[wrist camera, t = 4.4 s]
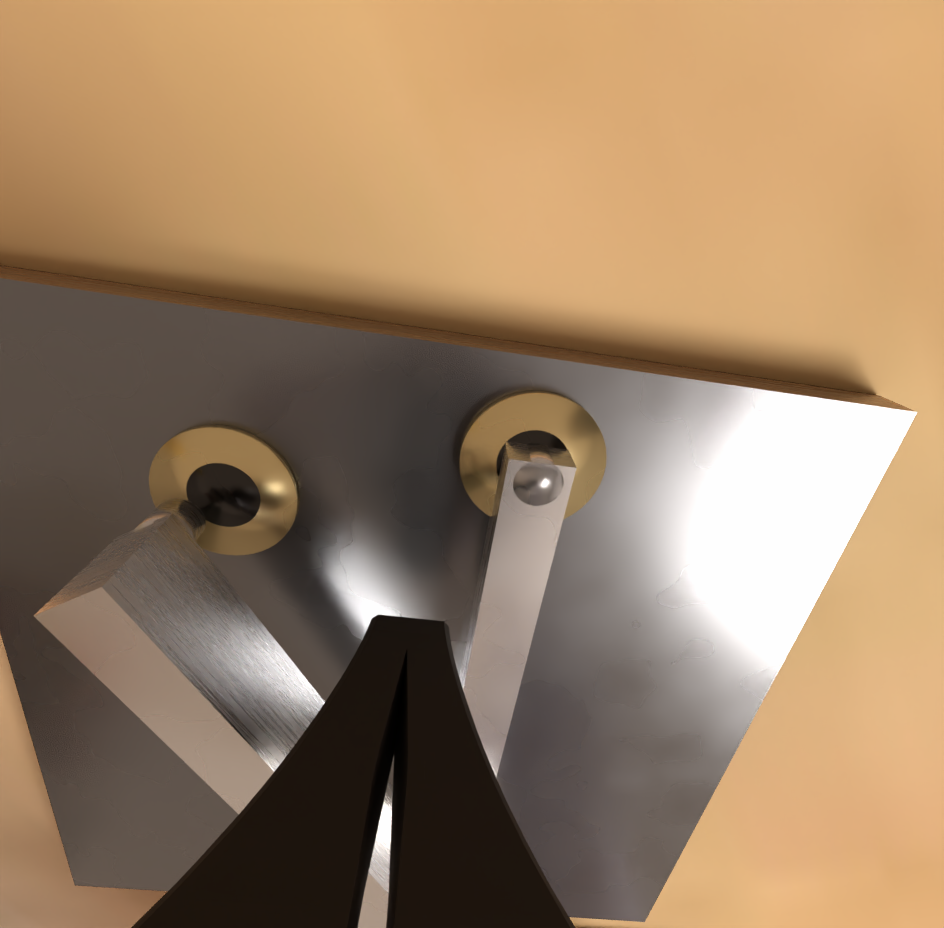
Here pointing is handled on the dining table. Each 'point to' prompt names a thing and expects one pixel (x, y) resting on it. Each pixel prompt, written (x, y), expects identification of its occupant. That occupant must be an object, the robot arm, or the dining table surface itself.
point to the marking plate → (425, 550)
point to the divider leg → (196, 665)
